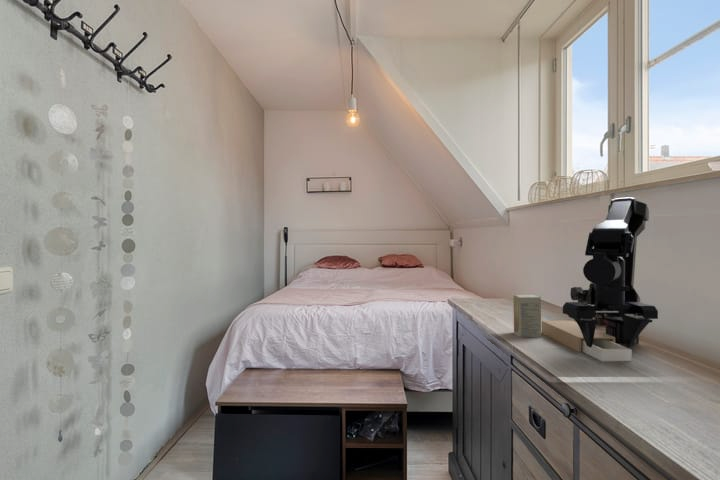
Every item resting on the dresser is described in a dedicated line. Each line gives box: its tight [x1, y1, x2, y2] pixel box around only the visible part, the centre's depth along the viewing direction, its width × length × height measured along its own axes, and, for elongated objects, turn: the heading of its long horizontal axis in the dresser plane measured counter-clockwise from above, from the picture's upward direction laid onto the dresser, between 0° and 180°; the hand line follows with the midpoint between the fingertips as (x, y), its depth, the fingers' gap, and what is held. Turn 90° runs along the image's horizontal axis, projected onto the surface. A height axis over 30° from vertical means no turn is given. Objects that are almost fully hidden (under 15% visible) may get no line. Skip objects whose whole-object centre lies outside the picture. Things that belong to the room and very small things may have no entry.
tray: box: [581, 339, 633, 362], centre depth 82 cm, size 7×16×3 cm, turn 1°
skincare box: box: [512, 294, 542, 338], centre depth 94 cm, size 6×4×12 cm
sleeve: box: [541, 320, 615, 353], centre depth 88 cm, size 9×16×4 cm, turn 1°
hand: (608, 346), depth 77 cm, fingers open, 9 cm apart
